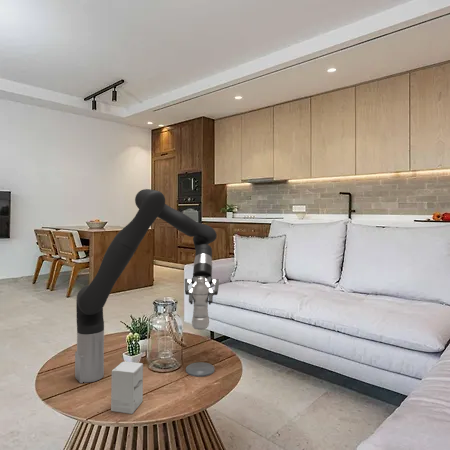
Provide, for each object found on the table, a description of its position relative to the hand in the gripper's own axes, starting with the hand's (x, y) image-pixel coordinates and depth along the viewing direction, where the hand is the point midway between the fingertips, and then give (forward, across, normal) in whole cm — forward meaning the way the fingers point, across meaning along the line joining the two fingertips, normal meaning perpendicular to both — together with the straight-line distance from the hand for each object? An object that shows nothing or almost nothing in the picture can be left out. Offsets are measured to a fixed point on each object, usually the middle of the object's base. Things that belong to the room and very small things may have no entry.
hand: (200, 303), depth 135 cm
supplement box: (+36, -21, +1) cm, 42 cm away
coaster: (+18, 0, +20) cm, 27 cm away
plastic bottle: (+6, 0, +9) cm, 11 cm away
